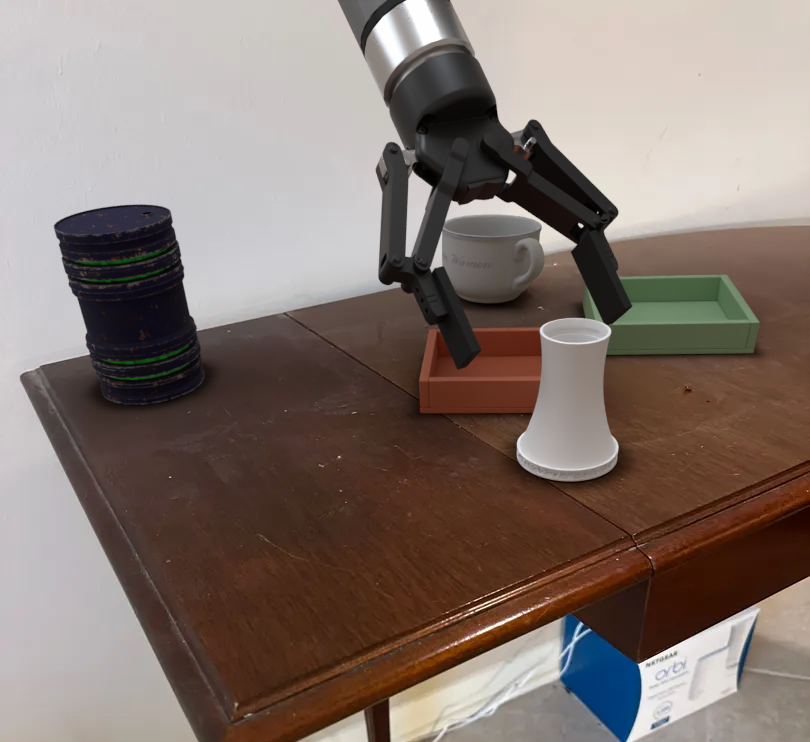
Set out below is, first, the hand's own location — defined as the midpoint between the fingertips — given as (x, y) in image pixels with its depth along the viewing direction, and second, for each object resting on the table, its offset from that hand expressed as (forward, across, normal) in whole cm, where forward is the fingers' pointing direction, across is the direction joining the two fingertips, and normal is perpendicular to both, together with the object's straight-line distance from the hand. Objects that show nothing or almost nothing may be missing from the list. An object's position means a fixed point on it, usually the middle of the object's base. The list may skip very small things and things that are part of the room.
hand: (547, 338), depth 59 cm
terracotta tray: (-2, -3, -14) cm, 14 cm away
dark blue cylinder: (-15, +22, -28) cm, 39 cm away
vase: (+8, 0, -4) cm, 9 cm away
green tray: (-2, -24, -14) cm, 28 cm away
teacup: (-14, -16, -27) cm, 34 cm away
